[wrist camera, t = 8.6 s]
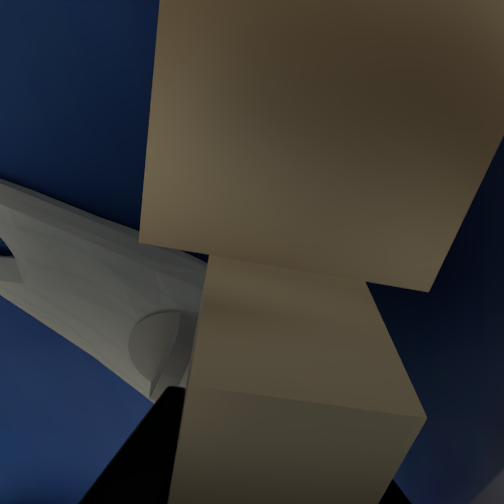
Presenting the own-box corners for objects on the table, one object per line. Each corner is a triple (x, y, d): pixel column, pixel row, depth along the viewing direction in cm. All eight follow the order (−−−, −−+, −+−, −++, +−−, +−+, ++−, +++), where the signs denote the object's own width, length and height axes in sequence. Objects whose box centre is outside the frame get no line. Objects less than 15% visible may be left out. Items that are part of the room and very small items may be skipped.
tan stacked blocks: (322, 476, 12) (353, 659, 9) (125, 453, 12) (73, 639, 8) (609, -166, 6) (1174, -452, 2) (197, -291, 5) (96, -944, 2)
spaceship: (432, 433, 21) (472, 529, 17) (326, 489, 23) (341, 585, 19) (12, 57, 13) (-92, 78, 9) (-89, 199, 15) (-207, 264, 11)
